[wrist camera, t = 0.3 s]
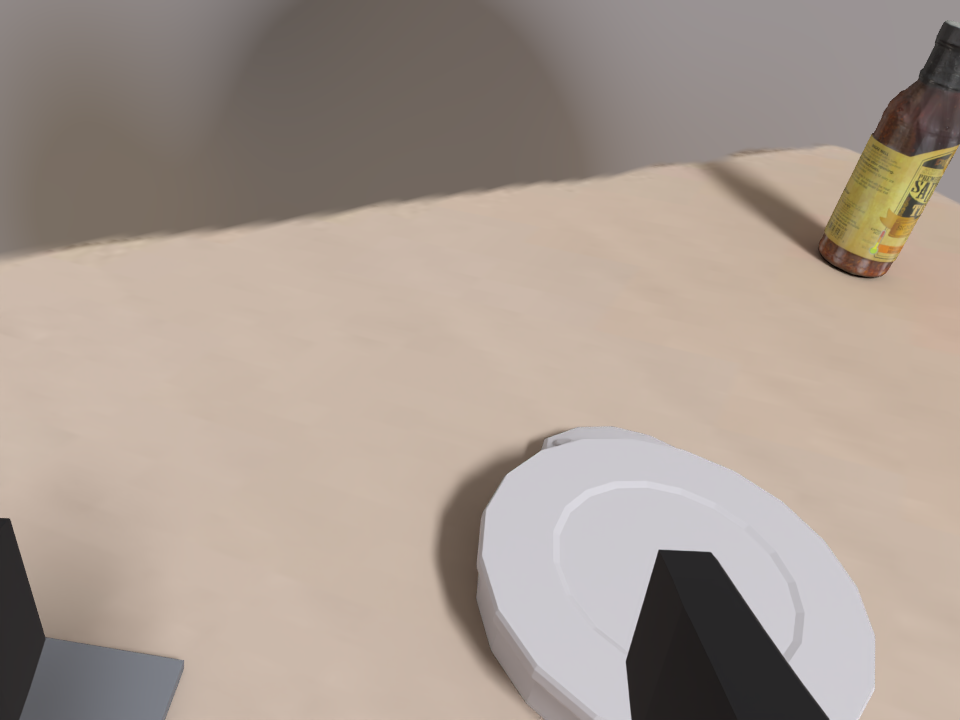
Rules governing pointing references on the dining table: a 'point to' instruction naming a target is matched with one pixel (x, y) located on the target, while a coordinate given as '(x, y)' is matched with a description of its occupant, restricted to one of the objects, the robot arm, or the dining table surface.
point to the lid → (650, 571)
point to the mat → (100, 684)
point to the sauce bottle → (899, 166)
